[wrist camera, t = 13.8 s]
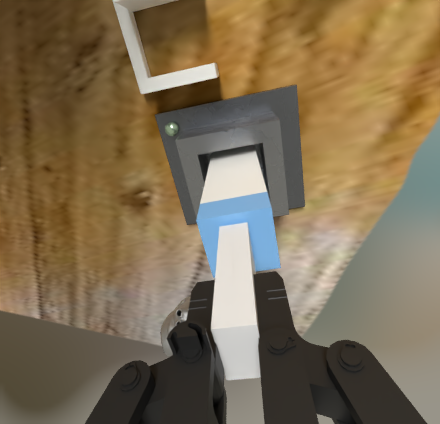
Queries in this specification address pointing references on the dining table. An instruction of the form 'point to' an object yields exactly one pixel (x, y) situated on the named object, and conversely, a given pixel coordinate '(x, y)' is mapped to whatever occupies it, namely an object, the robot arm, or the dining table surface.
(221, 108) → the port panel
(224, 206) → the plug
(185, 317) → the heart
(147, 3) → the holster
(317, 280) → the dining table surface
